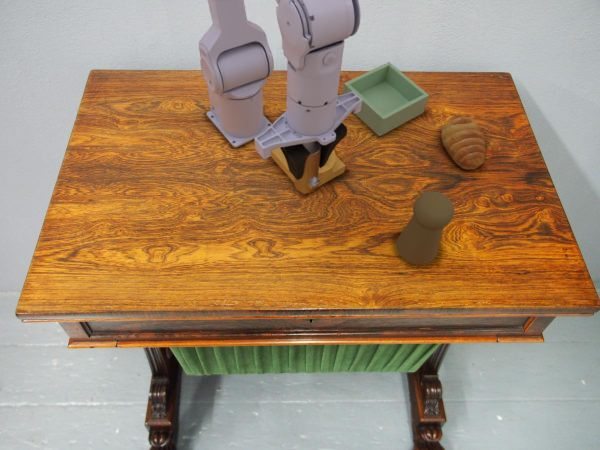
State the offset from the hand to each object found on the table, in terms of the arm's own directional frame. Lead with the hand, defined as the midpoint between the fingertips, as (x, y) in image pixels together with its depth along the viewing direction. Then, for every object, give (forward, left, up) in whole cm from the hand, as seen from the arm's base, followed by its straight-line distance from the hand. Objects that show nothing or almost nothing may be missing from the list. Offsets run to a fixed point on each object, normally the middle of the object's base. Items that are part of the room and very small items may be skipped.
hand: (306, 168), depth 66 cm
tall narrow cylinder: (0, 0, -3) cm, 3 cm away
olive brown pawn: (+14, +10, -10) cm, 20 cm away
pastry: (+4, +30, -10) cm, 32 cm away
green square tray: (-11, +25, -10) cm, 29 cm away
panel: (-8, +6, -10) cm, 14 cm away
